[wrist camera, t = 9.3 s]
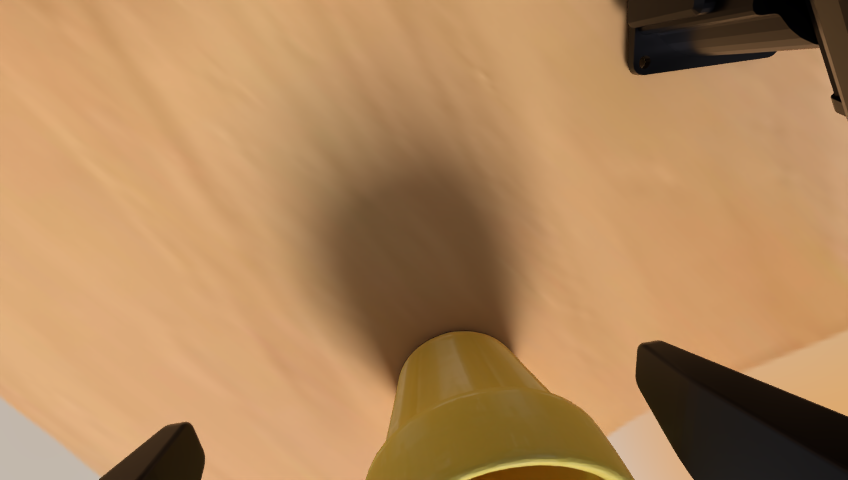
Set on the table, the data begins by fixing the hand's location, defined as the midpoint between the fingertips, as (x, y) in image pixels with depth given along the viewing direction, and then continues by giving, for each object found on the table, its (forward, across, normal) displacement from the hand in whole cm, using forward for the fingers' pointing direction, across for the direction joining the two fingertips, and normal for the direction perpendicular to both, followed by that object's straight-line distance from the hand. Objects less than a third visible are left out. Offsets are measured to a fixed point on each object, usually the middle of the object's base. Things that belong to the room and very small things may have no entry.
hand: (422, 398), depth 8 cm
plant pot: (+12, -2, +10) cm, 16 cm away
